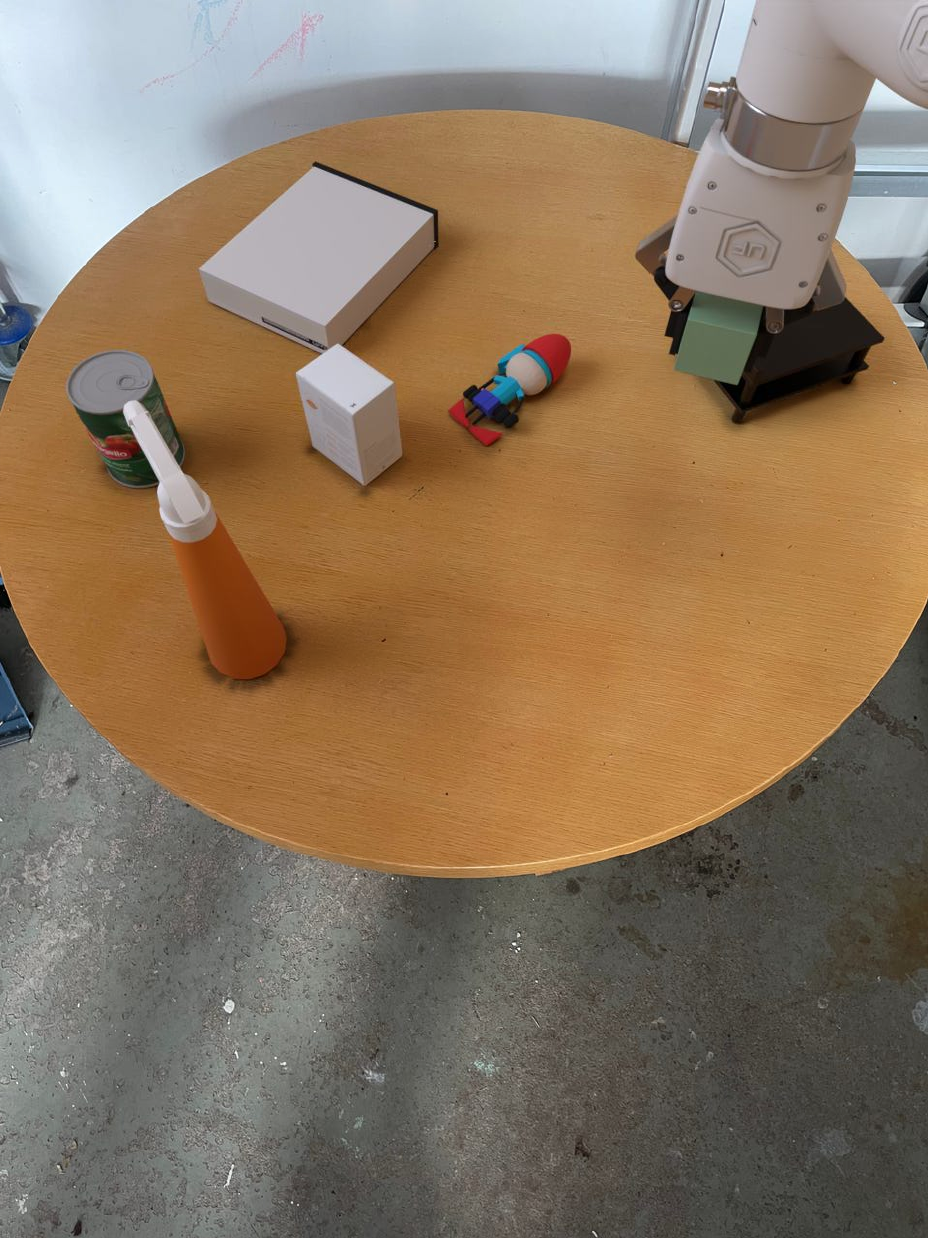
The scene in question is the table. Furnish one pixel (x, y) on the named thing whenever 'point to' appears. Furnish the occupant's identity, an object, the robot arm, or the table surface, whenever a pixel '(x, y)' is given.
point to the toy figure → (515, 383)
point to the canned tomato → (121, 412)
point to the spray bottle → (211, 566)
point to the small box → (351, 413)
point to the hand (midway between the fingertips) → (713, 349)
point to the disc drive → (321, 257)
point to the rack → (806, 358)
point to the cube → (718, 337)
